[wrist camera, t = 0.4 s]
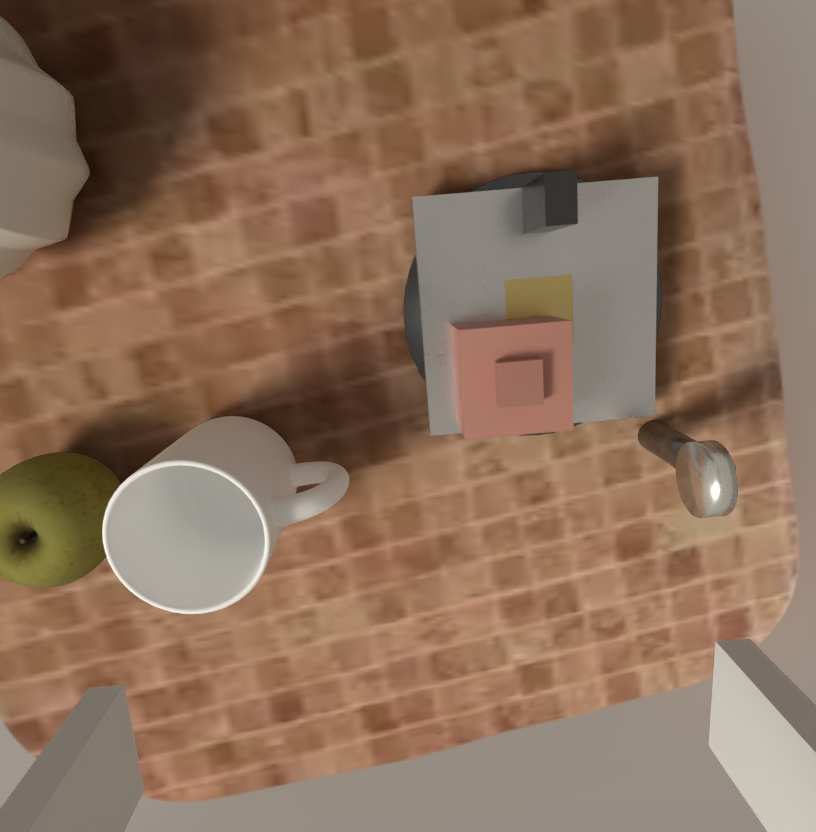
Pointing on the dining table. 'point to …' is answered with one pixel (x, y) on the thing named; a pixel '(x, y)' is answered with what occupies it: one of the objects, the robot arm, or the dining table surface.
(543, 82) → the dining table surface
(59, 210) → the vase
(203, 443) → the mug
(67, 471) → the apple
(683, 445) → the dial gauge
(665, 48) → the dining table surface
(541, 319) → the cover
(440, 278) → the turntable
